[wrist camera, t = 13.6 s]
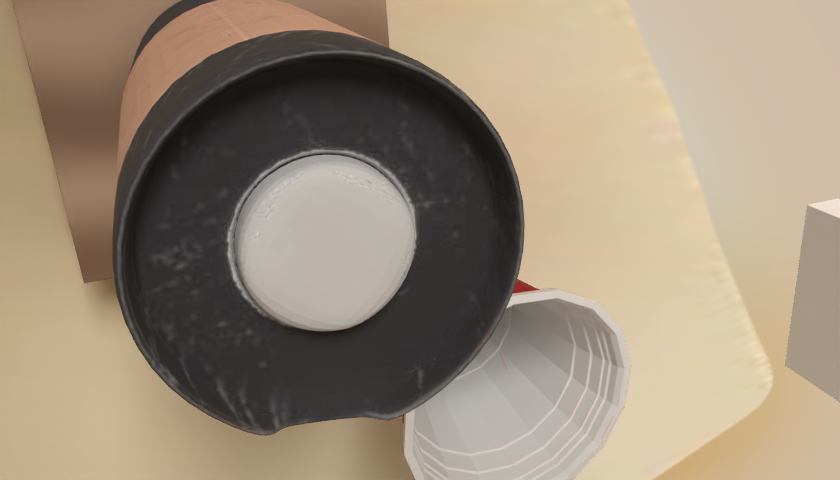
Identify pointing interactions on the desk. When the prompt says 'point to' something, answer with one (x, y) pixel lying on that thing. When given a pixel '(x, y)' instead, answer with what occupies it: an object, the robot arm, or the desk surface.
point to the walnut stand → (112, 95)
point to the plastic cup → (526, 396)
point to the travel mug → (305, 218)
